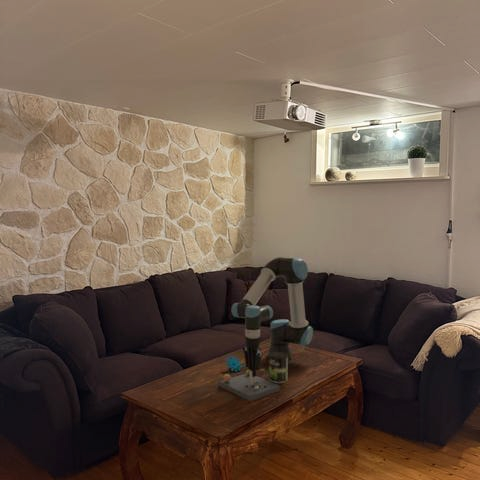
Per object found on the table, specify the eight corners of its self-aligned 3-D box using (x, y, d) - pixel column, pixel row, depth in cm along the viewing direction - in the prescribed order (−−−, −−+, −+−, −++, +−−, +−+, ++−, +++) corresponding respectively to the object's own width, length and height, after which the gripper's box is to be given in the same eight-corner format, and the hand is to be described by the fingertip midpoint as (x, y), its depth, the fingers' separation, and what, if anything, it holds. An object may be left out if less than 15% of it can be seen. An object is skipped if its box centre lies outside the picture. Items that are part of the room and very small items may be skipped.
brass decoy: (249, 373, 243) (249, 368, 243) (253, 375, 241) (253, 369, 241) (244, 375, 241) (244, 369, 241) (248, 376, 239) (248, 370, 238)
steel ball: (258, 383, 226) (261, 388, 224) (256, 387, 228) (259, 392, 226) (253, 385, 224) (257, 390, 222) (251, 389, 226) (255, 394, 224)
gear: (229, 371, 249) (224, 355, 255) (224, 376, 253) (220, 360, 259) (246, 370, 255) (241, 354, 261) (241, 375, 259) (236, 359, 265)
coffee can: (280, 384, 234) (280, 358, 233) (264, 379, 241) (265, 354, 240) (291, 379, 242) (292, 354, 241) (276, 374, 249) (277, 349, 248)
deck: (219, 386, 232) (219, 381, 232) (248, 377, 245) (248, 372, 245) (250, 401, 214) (250, 396, 214) (279, 390, 227) (279, 385, 227)
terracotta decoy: (227, 380, 234) (227, 372, 234) (232, 382, 231) (232, 374, 231) (221, 381, 232) (221, 374, 231) (226, 384, 228) (226, 376, 228)
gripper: (238, 335, 228) (238, 380, 230) (255, 340, 218) (255, 387, 220) (249, 332, 233) (249, 376, 235) (266, 338, 223) (266, 384, 225)
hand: (252, 382), depth 227 cm, fingers closed
